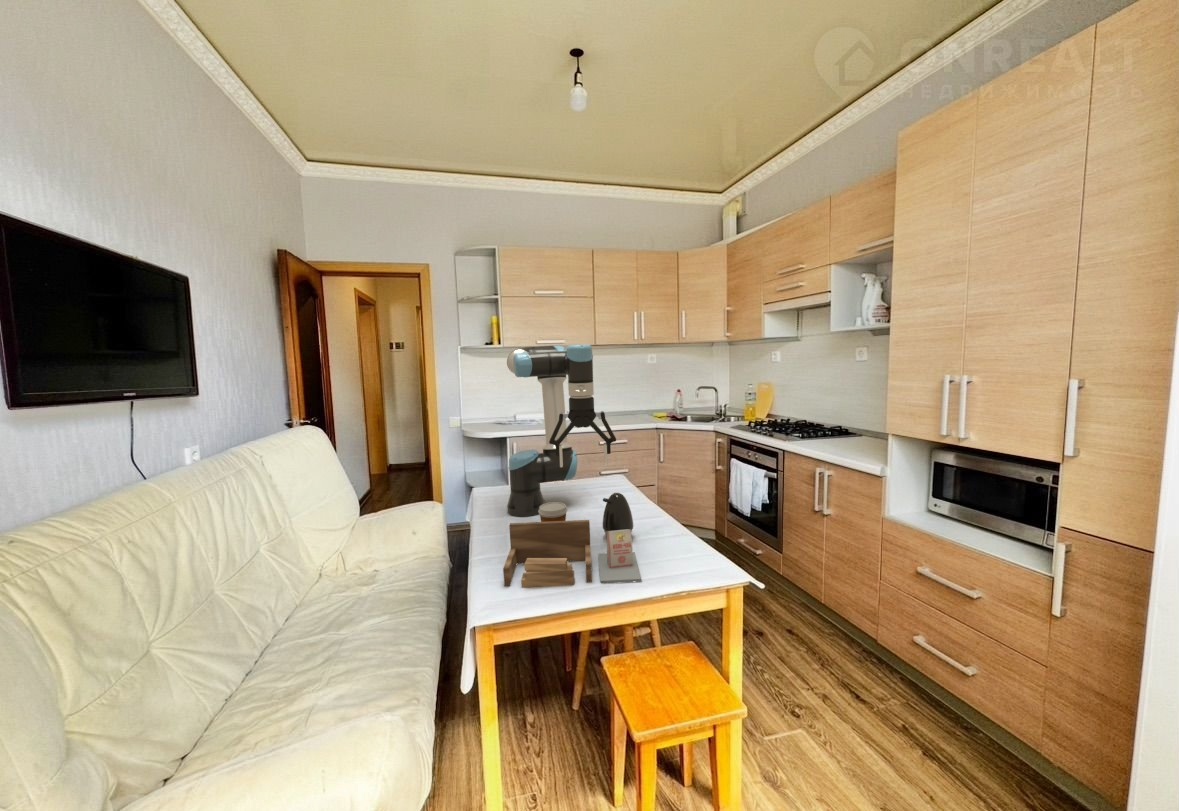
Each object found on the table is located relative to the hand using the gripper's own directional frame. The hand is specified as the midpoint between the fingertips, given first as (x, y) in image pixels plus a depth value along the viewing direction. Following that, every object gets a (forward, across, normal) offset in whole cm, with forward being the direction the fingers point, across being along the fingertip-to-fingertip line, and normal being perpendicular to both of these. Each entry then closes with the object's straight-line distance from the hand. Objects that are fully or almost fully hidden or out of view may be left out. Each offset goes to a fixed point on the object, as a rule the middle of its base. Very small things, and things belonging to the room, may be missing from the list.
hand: (583, 465), depth 137 cm
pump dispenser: (+27, +11, +7) cm, 30 cm away
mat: (+26, +9, -14) cm, 31 cm away
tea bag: (+26, +9, -13) cm, 31 cm away
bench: (+27, -11, -14) cm, 32 cm away
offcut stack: (+26, -11, -20) cm, 35 cm away
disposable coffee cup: (+27, -10, +6) cm, 30 cm away
